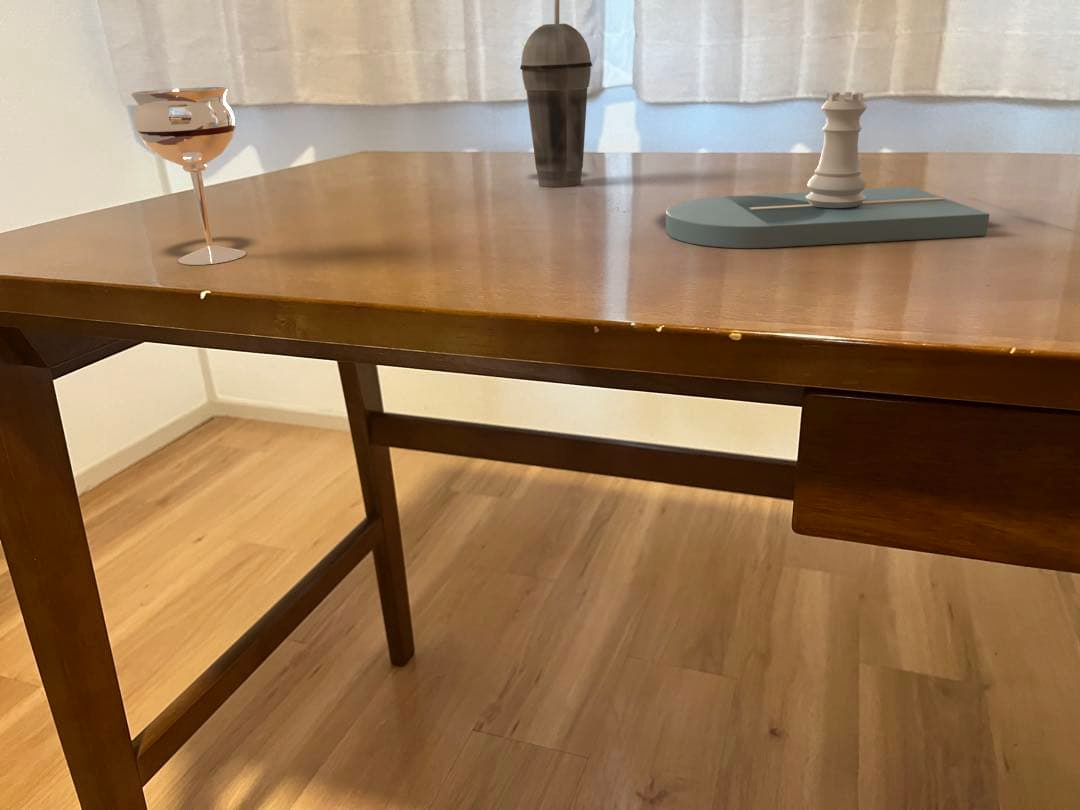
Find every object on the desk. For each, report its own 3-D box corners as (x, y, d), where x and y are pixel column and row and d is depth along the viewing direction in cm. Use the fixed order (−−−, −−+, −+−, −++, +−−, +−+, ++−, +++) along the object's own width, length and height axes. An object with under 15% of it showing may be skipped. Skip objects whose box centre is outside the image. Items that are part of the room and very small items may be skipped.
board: (909, 205, 73) (912, 185, 72) (986, 236, 62) (990, 212, 61) (652, 219, 72) (653, 199, 71) (684, 252, 61) (684, 228, 60)
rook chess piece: (796, 200, 68) (804, 93, 65) (850, 196, 68) (861, 90, 65) (818, 210, 64) (827, 97, 61) (875, 206, 64) (888, 93, 61)
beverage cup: (515, 188, 89) (504, -27, 81) (538, 177, 95) (530, -24, 87) (583, 189, 86) (578, -32, 78) (602, 178, 93) (599, -29, 85)
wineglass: (198, 245, 69) (166, 88, 65) (274, 246, 68) (247, 85, 63) (145, 267, 63) (106, 95, 58) (227, 268, 62) (194, 92, 57)
